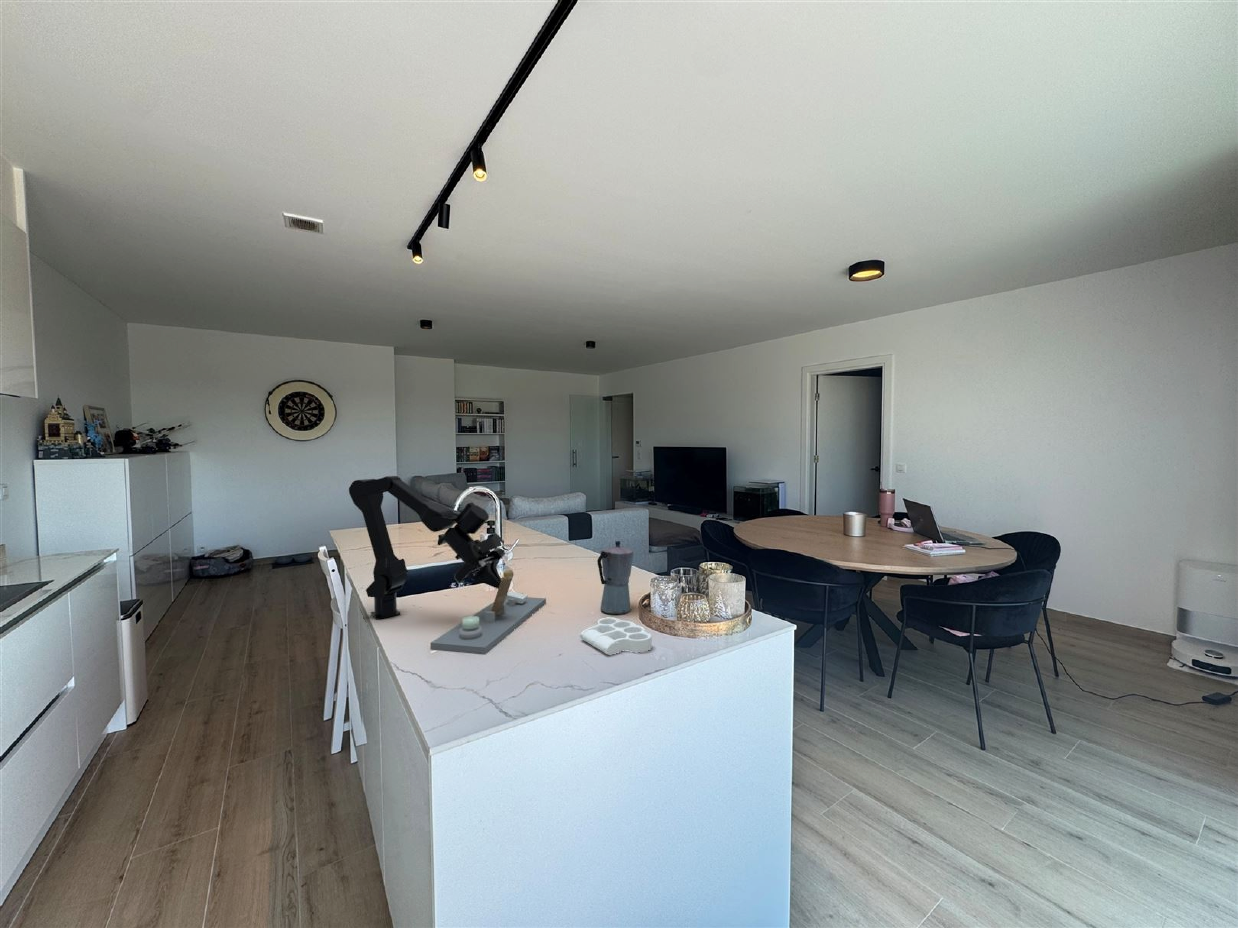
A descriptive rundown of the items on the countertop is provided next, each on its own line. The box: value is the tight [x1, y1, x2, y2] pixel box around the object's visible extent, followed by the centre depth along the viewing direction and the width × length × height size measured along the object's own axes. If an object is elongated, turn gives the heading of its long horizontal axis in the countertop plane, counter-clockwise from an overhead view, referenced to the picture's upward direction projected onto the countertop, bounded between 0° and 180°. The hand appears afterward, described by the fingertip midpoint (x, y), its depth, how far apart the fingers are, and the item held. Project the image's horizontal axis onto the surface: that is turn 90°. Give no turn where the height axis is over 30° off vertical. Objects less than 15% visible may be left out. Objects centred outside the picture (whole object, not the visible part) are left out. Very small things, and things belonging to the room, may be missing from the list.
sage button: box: [461, 615, 479, 629], centre depth 120 cm, size 4×4×2 cm
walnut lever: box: [491, 568, 515, 617], centre depth 132 cm, size 3×4×14 cm, turn 167°
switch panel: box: [430, 592, 547, 655], centre depth 133 cm, size 14×38×4 cm, turn 167°
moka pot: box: [596, 540, 635, 615], centre depth 142 cm, size 10×15×20 cm, turn 148°
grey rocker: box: [505, 590, 529, 604], centre depth 146 cm, size 6×4×1 cm, turn 77°
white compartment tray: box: [579, 616, 653, 656], centre depth 120 cm, size 3×18×15 cm
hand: (501, 587), depth 132 cm, fingers closed, pressing on walnut lever
